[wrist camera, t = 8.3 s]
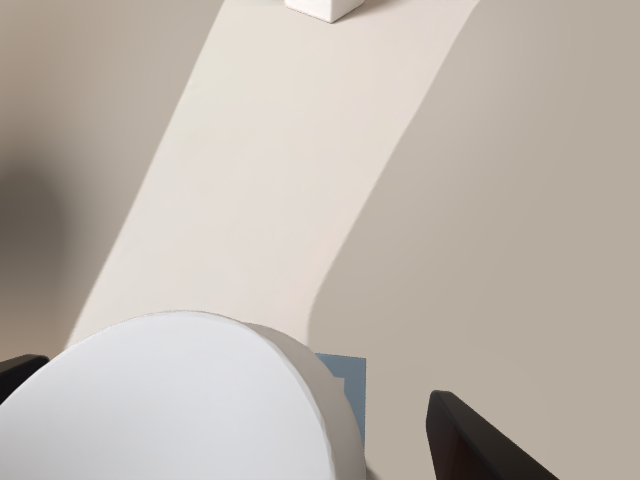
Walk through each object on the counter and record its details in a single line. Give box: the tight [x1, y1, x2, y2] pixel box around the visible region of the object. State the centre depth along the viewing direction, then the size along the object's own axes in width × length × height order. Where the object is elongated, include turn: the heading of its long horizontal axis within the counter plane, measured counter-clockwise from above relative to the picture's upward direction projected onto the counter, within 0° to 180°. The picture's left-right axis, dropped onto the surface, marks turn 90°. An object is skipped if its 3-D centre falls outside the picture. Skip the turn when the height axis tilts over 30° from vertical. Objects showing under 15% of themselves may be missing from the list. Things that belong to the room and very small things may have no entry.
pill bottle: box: [0, 311, 367, 480], centre depth 8 cm, size 6×6×11 cm
